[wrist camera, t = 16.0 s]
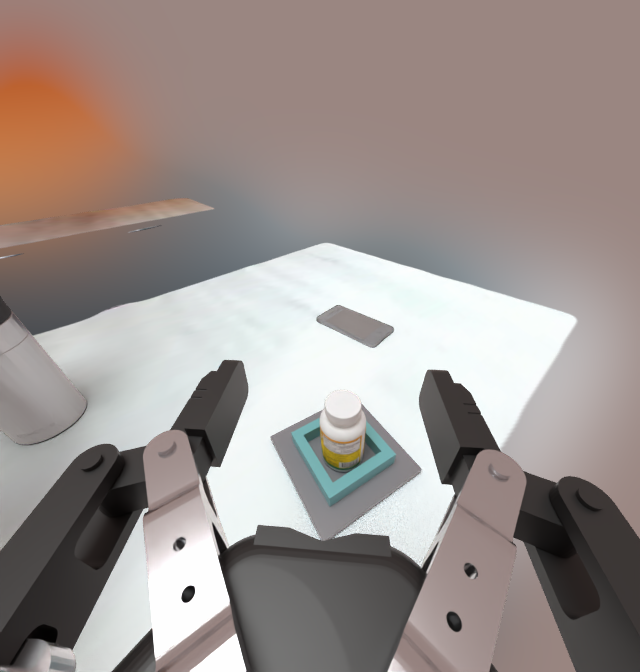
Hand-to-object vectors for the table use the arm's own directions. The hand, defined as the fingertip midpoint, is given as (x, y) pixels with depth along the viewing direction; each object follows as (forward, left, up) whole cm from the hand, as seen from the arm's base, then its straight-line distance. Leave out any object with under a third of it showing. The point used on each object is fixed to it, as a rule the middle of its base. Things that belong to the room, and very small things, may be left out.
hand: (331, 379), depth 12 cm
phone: (-32, +26, -26) cm, 49 cm away
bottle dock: (-9, +7, -25) cm, 27 cm away
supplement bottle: (-8, +7, -24) cm, 27 cm away
